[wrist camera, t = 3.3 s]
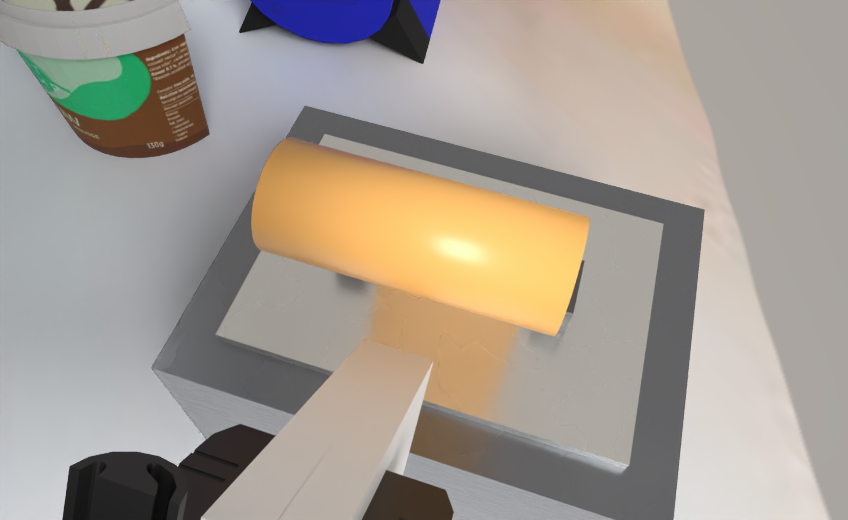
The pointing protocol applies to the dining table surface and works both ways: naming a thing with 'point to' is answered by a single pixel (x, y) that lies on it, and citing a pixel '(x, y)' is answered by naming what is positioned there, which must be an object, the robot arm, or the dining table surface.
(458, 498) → the box
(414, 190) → the lever
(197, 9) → the dining table surface
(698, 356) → the dining table surface
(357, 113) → the dining table surface
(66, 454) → the dining table surface
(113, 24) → the food container
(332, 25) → the alarm clock
